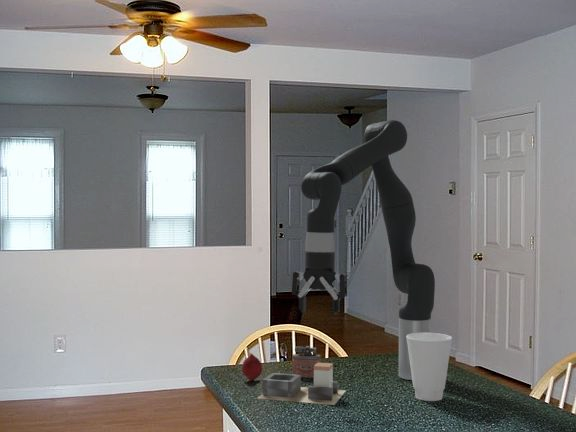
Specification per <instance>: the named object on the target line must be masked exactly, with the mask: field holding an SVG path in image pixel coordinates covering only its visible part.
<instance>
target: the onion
mask: <svg viewBox="0 0 576 432" xmlns="http://www.w3.org/2000/svg"><path fill="white" fill-rule="evenodd" d="M241 372H242V374H243V376H245V377H246V378H247V379H248V380H249V381H250V382H253V381H254V380H256V379H257V378H259V377H260V376H261V375H262V372H263V366H262V362H261V361H260V359H259V358H257V356H255V355H254V353H253V352H250V353H249V355H248V357H247V358H245V359H244V360H243V362H242V365H241Z"/></svg>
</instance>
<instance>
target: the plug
mask: <svg viewBox="0 0 576 432" xmlns="http://www.w3.org/2000/svg"><path fill="white" fill-rule="evenodd" d="M333 366H334V364H333V363H332V362H331V363H329V362H320V363H317V364H315V365H314V378H313V386H315V387H328V388H332V395H333V381H334V380H333V379H334V378H333V377H334V372H333V370H334V367H333Z"/></svg>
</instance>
